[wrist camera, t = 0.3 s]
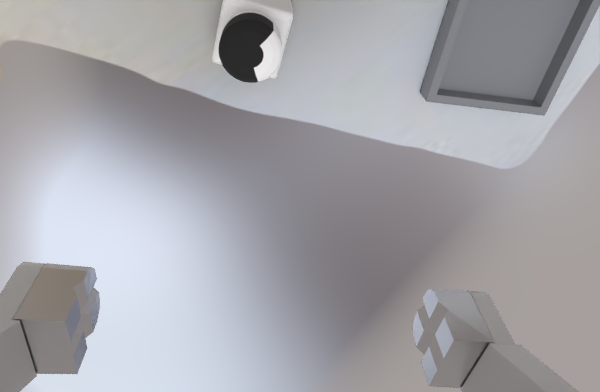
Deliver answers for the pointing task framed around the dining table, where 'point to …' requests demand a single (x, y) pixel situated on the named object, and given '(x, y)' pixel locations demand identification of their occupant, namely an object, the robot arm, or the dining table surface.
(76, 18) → the dining table surface
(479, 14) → the sorting tray
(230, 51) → the medicine bottle
